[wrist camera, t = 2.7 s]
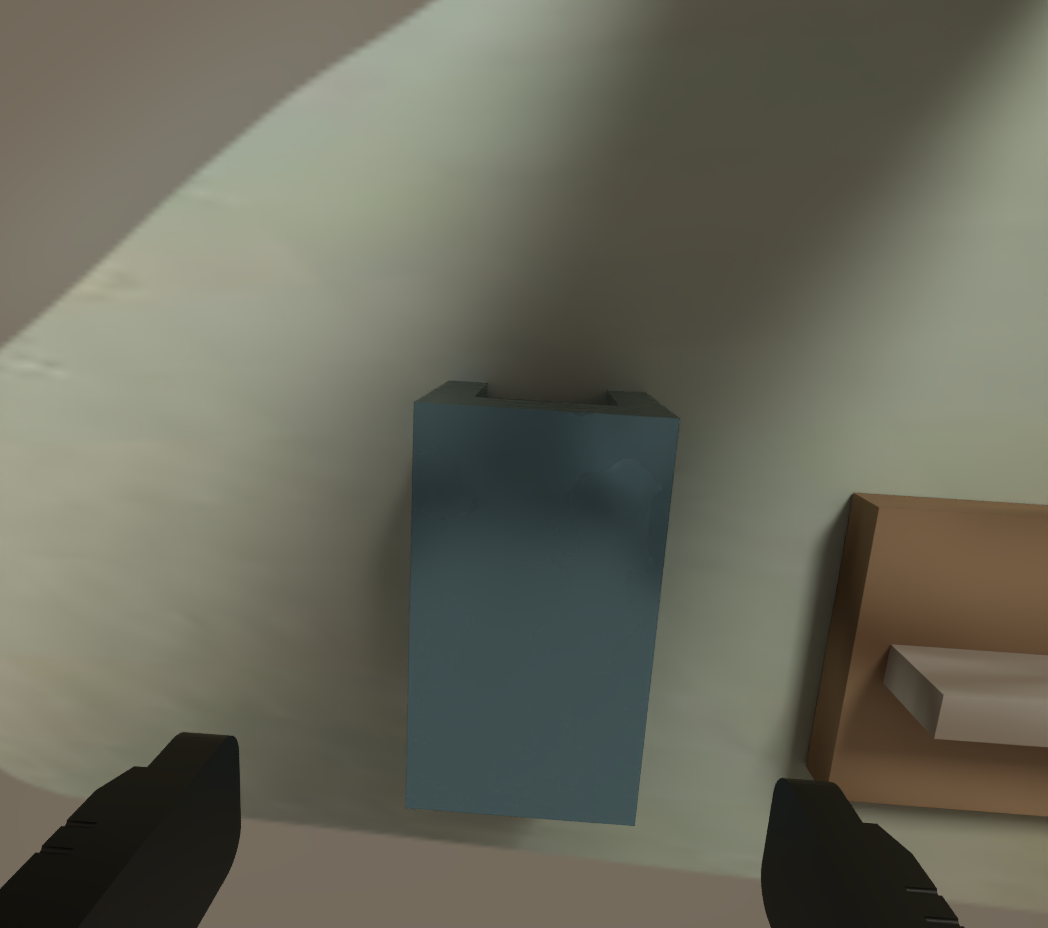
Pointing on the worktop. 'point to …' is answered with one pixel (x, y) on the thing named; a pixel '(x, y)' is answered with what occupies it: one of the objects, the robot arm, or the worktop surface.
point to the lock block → (534, 601)
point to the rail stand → (938, 657)
